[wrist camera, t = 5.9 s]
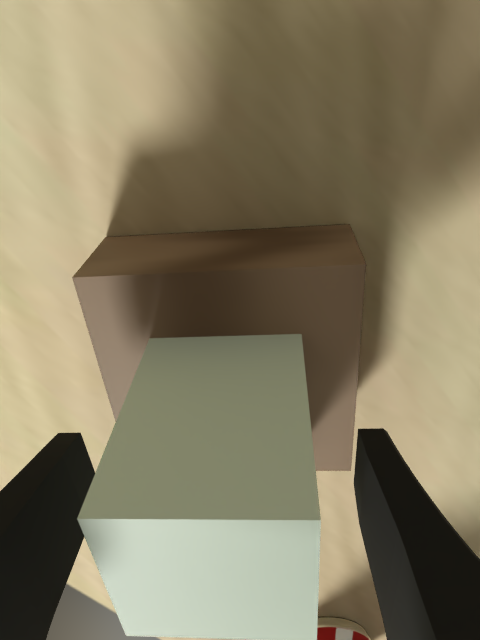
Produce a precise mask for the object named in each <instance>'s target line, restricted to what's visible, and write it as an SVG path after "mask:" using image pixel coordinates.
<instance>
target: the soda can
mask: <svg viewBox="0 0 480 640" xmlns="http://www.w3.org/2000/svg"><path fill="white" fill-rule="evenodd" d="M317 640H371V639H370V637H369V636H368V635H367V633H366V631H365V629H364V628H363V627H361V626H360V625H359V624H357V623H355V622H352V621H350V620H346V619H342V618H334V617H322V618H318V623H317Z"/></svg>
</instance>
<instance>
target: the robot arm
mask: <svg viewBox="0 0 480 640" xmlns="http://www.w3.org/2000/svg"><path fill="white" fill-rule="evenodd" d="M94 475H95V471H94V469H93V466H92V463H91V460H90V458H89V455H88V452H87V449H86V447H85V444H84V441H83V438H82V436H81V433H58V434H57V435H56V436H55V437H54V438H53V439H52V440H51V441H50V442H49V443H48V444H47V445H46V446H45V447H44V448H43V449H42V450H41V451H40V452H39V453H38V454H37V455H36V456H35V457H34V458H33V459H32V460H31V461H30V462H29V463H28V464H27V465H26V466H25V467H24V468H23V469H22V470H21V471H20V472H19V473H18V474H17V475H16V476H15V477H14V478H13V479H12V480H11V481H10V482H9V483H8V484H7V485H6V486H5V487H4V488H3V489H2V490H1V491H0V640H46V638H47V634H48V631H49V628H50V625H51V622H52V619H53V616H54V614H55V611H56V608H57V606H58V603H59V600H60V598H61V595H62V593H63V590H64V588H65V585H66V582H67V580H68V577H69V575H70V572H71V570H72V567H73V565H74V562H75V559H76V557H77V554H78V552H79V549H80V546H81V544H82V541H83V539H84V534H83V532H82V529H81V527H80V525H79V522H78V520H77V518H78V515H79V513H80V510H81V508H82V505H83V503H84V500H85V498H86V495H87V493H88V490H89V488H90V485H91V483H92V480H93V478H94ZM354 488H355V496H356V503H357V511H358V517H359V524H360V528H361V533H362V537H363V541H364V545H365V549H366V553H367V557H368V561H369V565H370V569H371V573H372V577H373V581H374V585H375V590H376V594H377V598H378V602H379V606H380V610H381V614H382V618H383V623H384V627H385V632H386V637H387V640H480V559H479V558H478V557H477V556H476V555H475V553H474V552H473V551H472V550H471V549H470V548H469V546H468V545H467V544H466V543H465V542H464V540H463V539H462V538H461V537H460V536H459V534H458V533H457V532H456V531H455V529H454V528H453V527H452V526H451V524H450V523H449V522H448V521H447V519H446V518H445V517H444V515H443V514H442V513H441V512H440V510H439V509H438V508H437V506H436V505H435V504H434V502H433V501H432V500H431V498H430V497H429V495H428V494H427V493H426V491H425V490H424V489H423V487H422V486H421V484H420V483H419V482H418V480H417V479H416V477H415V476H414V474H413V473H412V471H411V470H410V468H409V467H408V465H407V464H406V462H405V461H404V459H403V458H402V456H401V454H400V453H399V451H398V450H397V448H396V446H395V445H394V443H393V441H392V440H391V438H390V436H389V434H388V432H387V431H385V430H384V429H358V438H357V450H356V462H355V475H354Z"/></svg>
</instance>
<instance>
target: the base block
mask: <svg viewBox="0 0 480 640" xmlns="http://www.w3.org/2000/svg"><path fill="white" fill-rule="evenodd" d="M365 273H366V263H365V260H364V258H363V255H362V253H361V251H360V248H359V246H358V243H357V241H356V239H355V236H354V234H353V231H352V229H351V227H350V224H344V225H325V226H306V227H288V228H269V229H250V230H232V231H213V232H194V233H176V234H157V235H138V236H119V237H105V239H104V240H103V241H102V242H101V243H100V245H99V246H98V247H97V248H96V249H95V251H94V252H93V253H92V254H91V256H90V257H89V258H88V259H87V260H86V262H85V263H84V264H83V265H82V266H81V268H80V269H79V270H78V271H77V273H76V274H75V275H74V276H73V277H72V278H73V281H74V285H75V288H76V291H77V295H78V298H79V301H80V305H81V308H82V311H83V315H84V318H85V321H86V325H87V328H88V331H89V335H90V338H91V341H92V345H93V348H94V351H95V355H96V358H97V361H98V365H99V368H100V371H101V375H102V378H103V381H104V384H105V388H106V391H107V394H108V398H109V401H110V404H111V408H112V411H113V414H114V418H115V421H117V418H118V416H119V413H120V411H121V408H122V406H123V403H124V401H125V398H126V396H127V393H128V391H129V388H130V386H131V383H132V381H133V378H134V376H135V373H136V371H137V368H138V366H139V363H140V361H141V358H142V356H143V353H144V351H145V349H146V346H147V344H148V341H149V339H150V338H178V337H212V336H246V335H280V334H302V343H303V353H304V363H305V373H306V382H307V392H308V402H309V412H310V421H311V431H312V441H313V450H314V460H315V470H316V471H351V463H352V450H353V436H354V422H355V409H356V395H357V382H358V368H359V355H360V341H361V328H362V314H363V301H364V287H365Z"/></svg>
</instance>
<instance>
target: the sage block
mask: <svg viewBox="0 0 480 640" xmlns="http://www.w3.org/2000/svg"><path fill="white" fill-rule="evenodd" d="M77 520H78V522H79V525H80V527H81V529H82V532H83V534H84V536H85V539H86V541H87V544H88V546H89V548H90V551H91V553H92V556H93V558H94V560H95V563H96V565H97V567H98V570H99V572H100V575H101V577H102V579H103V582H104V584H105V586H106V589H107V591H108V594H109V596H110V598H111V601H112V603H113V605H114V608H115V610H116V613H117V615H118V617H119V620H120V622H121V625H122V627H123V629H124V632H125V634H126V636H150V637H183V638H217V639H251V640H317V623H318V590H319V558H320V526H321V519H320V509H319V499H318V489H317V480H316V470H315V460H314V450H313V441H312V431H311V421H310V412H309V402H308V392H307V382H306V373H305V363H304V353H303V343H302V334H280V335H246V336H212V337H178V338H150V339H149V341H148V344H147V346H146V349H145V351H144V353H143V356H142V358H141V361H140V363H139V366H138V368H137V371H136V373H135V376H134V378H133V381H132V383H131V386H130V388H129V391H128V393H127V396H126V398H125V401H124V403H123V406H122V408H121V411H120V413H119V416H118V418H117V421H116V423H115V426H114V428H113V431H112V433H111V436H110V438H109V441H108V443H107V446H106V448H105V451H104V453H103V455H102V458H101V460H100V463H99V465H98V468H97V470H96V473H95V475H94V478H93V480H92V483H91V485H90V488H89V490H88V493H87V495H86V498H85V500H84V503H83V505H82V508H81V510H80V513H79V515H78V518H77Z"/></svg>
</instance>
